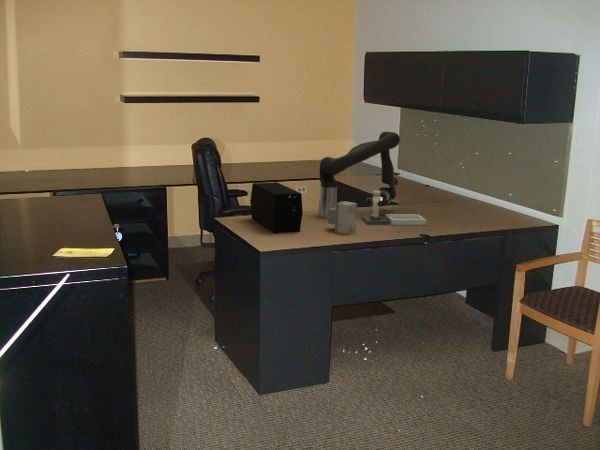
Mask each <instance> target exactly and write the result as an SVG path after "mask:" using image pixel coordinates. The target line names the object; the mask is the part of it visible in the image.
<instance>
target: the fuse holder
mask: <svg viewBox="0 0 600 450" xmlns="http://www.w3.org/2000/svg"><path fill="white" fill-rule="evenodd" d="M361 221H363V222H364V223H365V224H366V225H369V226H372V225H374V226H375V225H377V226H378V225H379V226H382V225H383V226H386V225H387V226H388V225H390V224H389V221H388V220H387V219H386V218H385V216H383V215H379V217H378V218H377V219H374V218H371V215H362V216H361Z"/></svg>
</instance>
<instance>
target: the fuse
mask: <svg viewBox="0 0 600 450" xmlns="http://www.w3.org/2000/svg"><path fill="white" fill-rule="evenodd" d="M380 192H381V191H379V189H377V190H376V189H375V190H372V197H373V204H372V205H371V206H372V207H371V214H370V216H371V218H374V219H377V218H378V217H379V216H380V213H379V211H380V206H378V202H379V200H380Z"/></svg>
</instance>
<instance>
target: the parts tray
mask: <svg viewBox="0 0 600 450" xmlns="http://www.w3.org/2000/svg"><path fill="white" fill-rule="evenodd" d="M384 217H385V218H386V219H387V220H388V221H389V223H390V224H389V225H391V226H427V223H428V222H427V221H428V220H427V219H426V218H425V217H423V216H421V215H420V214H409V213H408V214H407V213H405V214H401V213H399V214H397V213H396V214H394V213H392V214H391V213H389V214H388V213H387V214H386V213H385V214H384Z"/></svg>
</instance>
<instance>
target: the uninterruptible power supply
mask: <svg viewBox="0 0 600 450" xmlns="http://www.w3.org/2000/svg"><path fill="white" fill-rule="evenodd" d="M249 202H250V203H249V204H250V213H251V220H253V222H255V223H256V224H258V225H260V226H261V227H264V229H266V230H267V231H269V232H271V233H272V234H274V235H275V234H285V233H286V234H288V233H299V232H300V233H301V228H302V227H301V225H302V221H303V198H302V193H301V192H299V191H297V190H296V189H295V190H294V189H293V188H290V187H288V186H287V185H285V184H282V183H280V182H276V181H273V182H253V183H252V186H251V193H250V200H249Z"/></svg>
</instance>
